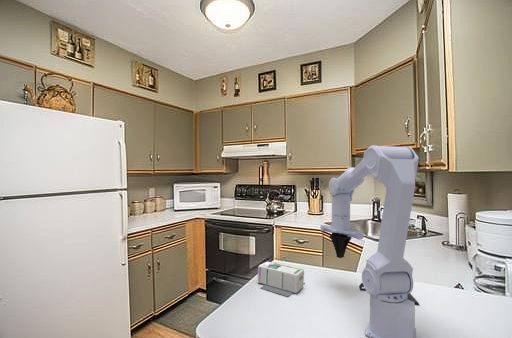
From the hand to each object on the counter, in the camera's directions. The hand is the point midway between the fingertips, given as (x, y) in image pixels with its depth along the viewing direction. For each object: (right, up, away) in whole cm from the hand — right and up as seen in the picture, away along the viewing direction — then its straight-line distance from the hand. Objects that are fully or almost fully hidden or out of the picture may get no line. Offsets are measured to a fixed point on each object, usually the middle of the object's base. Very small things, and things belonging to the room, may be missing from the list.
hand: (340, 257), depth 84 cm
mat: (-18, -10, +2) cm, 21 cm away
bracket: (+14, -12, -1) cm, 18 cm away
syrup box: (-13, -7, -2) cm, 15 cm away
